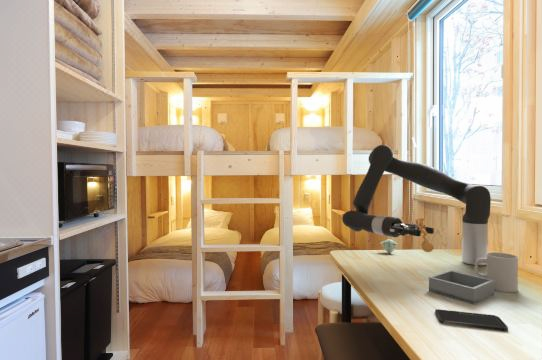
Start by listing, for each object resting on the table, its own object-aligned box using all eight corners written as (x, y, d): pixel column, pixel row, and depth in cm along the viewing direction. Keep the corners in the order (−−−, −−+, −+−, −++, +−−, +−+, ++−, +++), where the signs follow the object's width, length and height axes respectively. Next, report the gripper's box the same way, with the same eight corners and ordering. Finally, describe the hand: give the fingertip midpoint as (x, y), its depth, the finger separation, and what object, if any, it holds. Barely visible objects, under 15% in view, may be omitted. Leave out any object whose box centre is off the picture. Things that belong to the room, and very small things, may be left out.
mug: (514, 286, 111) (514, 253, 111) (520, 294, 104) (521, 259, 104) (473, 281, 117) (473, 250, 116) (476, 288, 109) (476, 255, 109)
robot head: (380, 253, 159) (380, 239, 159) (381, 251, 163) (381, 237, 162) (397, 254, 156) (398, 240, 155) (398, 252, 159) (398, 238, 159)
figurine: (432, 255, 111) (432, 219, 111) (413, 252, 114) (413, 218, 114) (435, 250, 118) (435, 216, 118) (416, 248, 121) (417, 215, 121)
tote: (449, 283, 114) (449, 270, 114) (494, 294, 103) (494, 280, 103) (428, 291, 107) (428, 277, 107) (474, 304, 96) (474, 288, 95)
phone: (509, 328, 79) (440, 320, 83) (509, 333, 79) (440, 325, 83) (497, 315, 86) (434, 308, 91) (497, 319, 86) (434, 312, 91)
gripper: (375, 217, 124) (415, 223, 111) (397, 215, 133) (438, 219, 119) (375, 237, 125) (415, 245, 111) (397, 233, 133) (437, 240, 119)
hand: (427, 232), depth 115 cm, fingers closed on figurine, 7 cm apart
